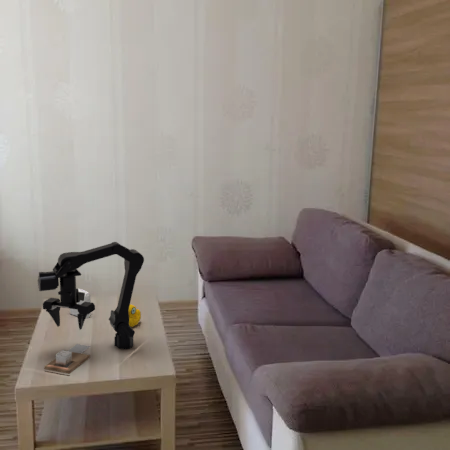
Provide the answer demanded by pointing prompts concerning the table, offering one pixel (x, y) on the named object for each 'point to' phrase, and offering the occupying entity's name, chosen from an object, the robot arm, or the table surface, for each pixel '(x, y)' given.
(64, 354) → the block
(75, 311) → the photo printer
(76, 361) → the board
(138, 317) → the duckling
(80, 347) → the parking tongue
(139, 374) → the table surface
